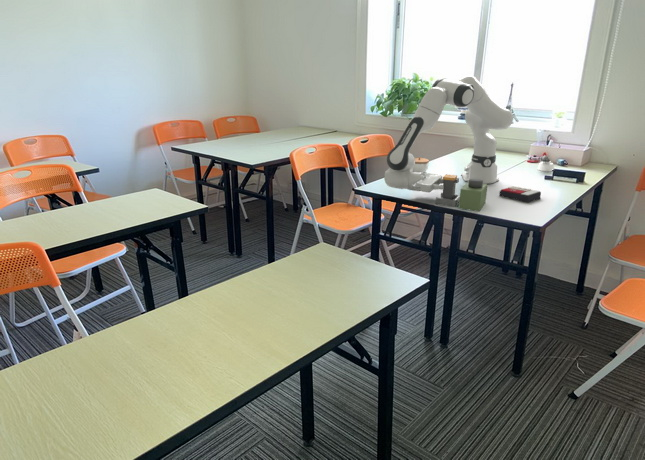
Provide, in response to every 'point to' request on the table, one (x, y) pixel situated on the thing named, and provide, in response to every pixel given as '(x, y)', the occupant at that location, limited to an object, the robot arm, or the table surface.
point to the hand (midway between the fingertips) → (446, 185)
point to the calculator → (520, 194)
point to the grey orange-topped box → (449, 186)
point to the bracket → (448, 200)
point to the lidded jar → (421, 165)
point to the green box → (473, 195)
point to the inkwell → (545, 164)
